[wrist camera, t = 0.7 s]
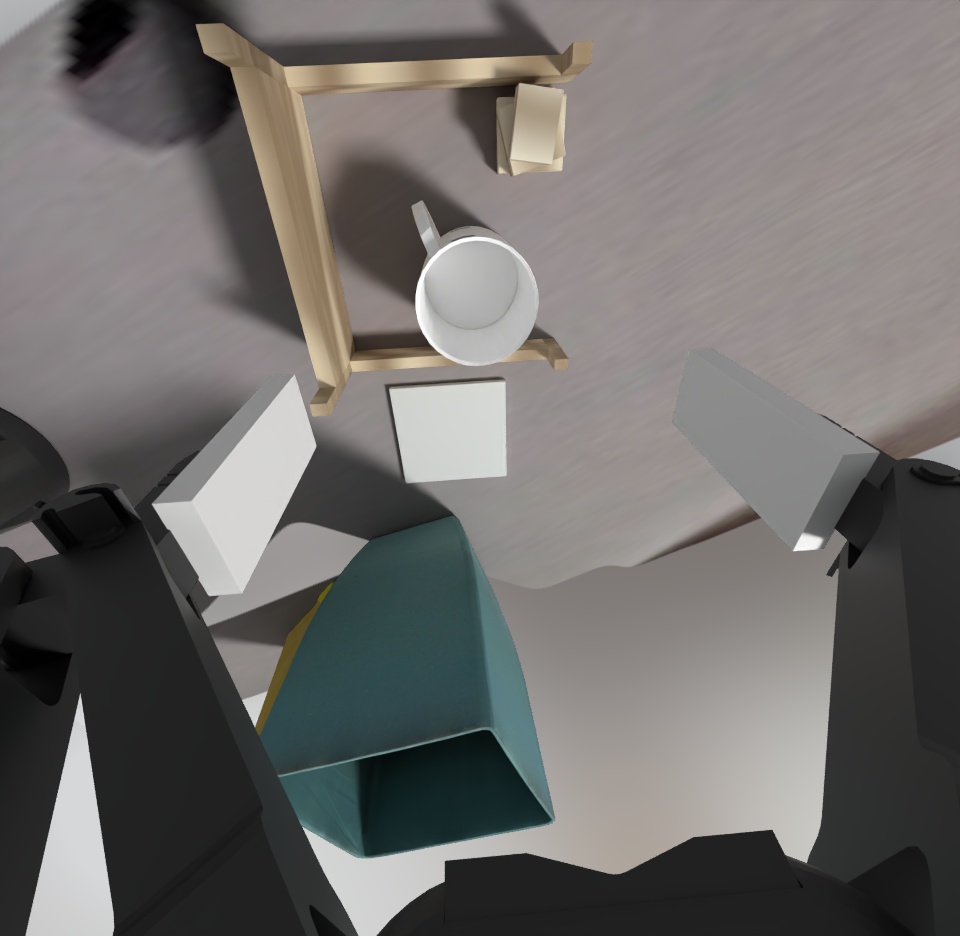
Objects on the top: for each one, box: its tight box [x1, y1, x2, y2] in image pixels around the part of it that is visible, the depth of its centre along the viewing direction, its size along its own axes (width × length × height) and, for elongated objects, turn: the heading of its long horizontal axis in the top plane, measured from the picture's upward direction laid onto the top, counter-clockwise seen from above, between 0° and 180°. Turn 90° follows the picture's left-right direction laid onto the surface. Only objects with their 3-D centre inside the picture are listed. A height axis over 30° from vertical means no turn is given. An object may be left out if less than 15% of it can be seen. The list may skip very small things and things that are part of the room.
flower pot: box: [259, 516, 555, 858], centre depth 46 cm, size 20×20×28 cm
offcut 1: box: [508, 83, 564, 165], centre depth 29 cm, size 4×3×2 cm
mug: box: [411, 200, 538, 366], centre depth 34 cm, size 12×9×9 cm
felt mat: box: [389, 379, 506, 483], centre depth 47 cm, size 12×12×1 cm
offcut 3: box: [496, 95, 566, 174], centre depth 33 cm, size 5×4×2 cm
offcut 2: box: [496, 86, 566, 176], centre depth 31 cm, size 4×4×2 cm
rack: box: [196, 23, 593, 417], centre depth 31 cm, size 21×21×12 cm
